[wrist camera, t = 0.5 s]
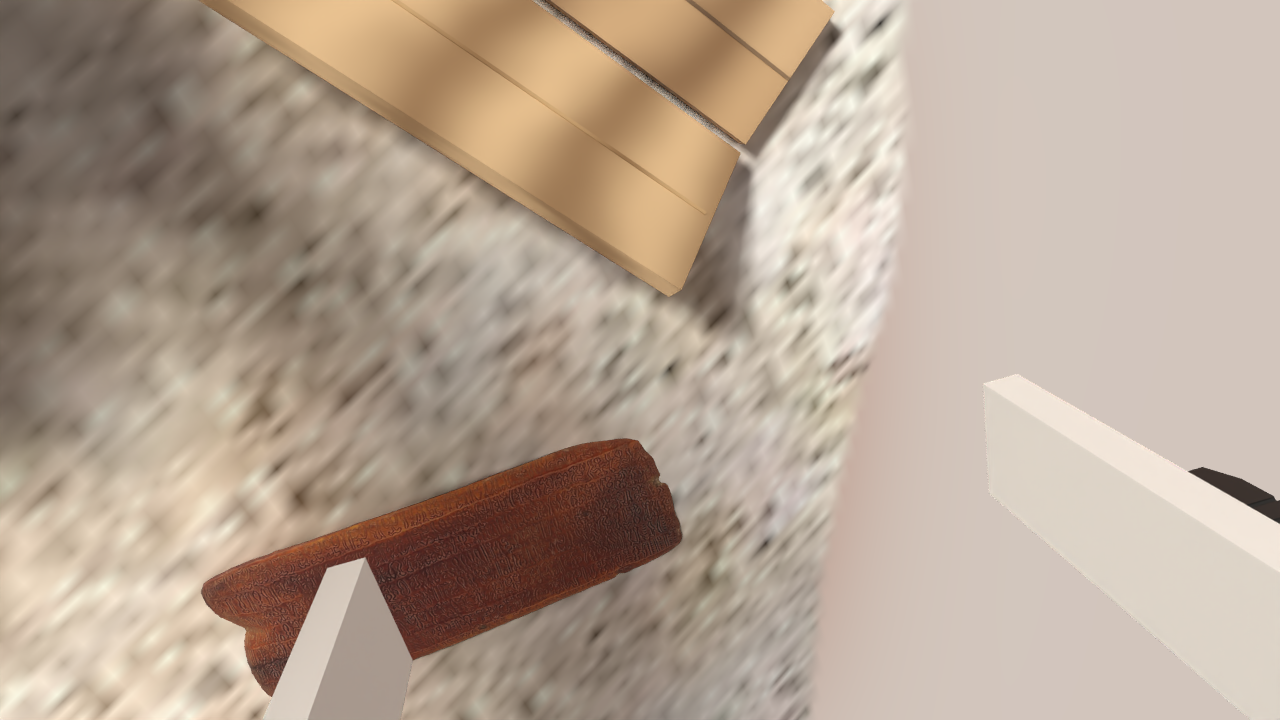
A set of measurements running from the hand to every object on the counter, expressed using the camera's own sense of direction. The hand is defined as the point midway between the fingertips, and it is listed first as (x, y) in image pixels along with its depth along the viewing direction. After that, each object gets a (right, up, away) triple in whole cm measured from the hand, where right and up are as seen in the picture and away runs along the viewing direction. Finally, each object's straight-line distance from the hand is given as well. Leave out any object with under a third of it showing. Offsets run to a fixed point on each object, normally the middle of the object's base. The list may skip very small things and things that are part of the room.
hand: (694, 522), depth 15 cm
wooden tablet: (-12, -9, +27) cm, 31 cm away
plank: (-8, +15, +15) cm, 23 cm away
